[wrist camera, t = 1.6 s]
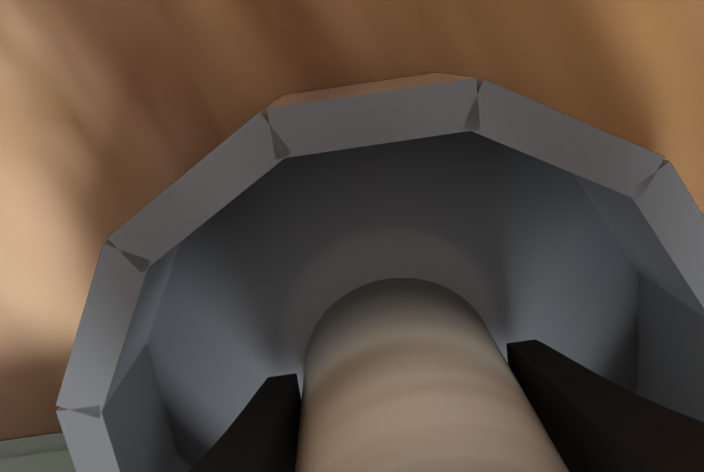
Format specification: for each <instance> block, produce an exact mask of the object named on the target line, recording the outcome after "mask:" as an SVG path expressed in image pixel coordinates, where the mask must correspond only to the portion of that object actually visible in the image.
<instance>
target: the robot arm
mask: <svg viewBox="0 0 704 472" xmlns="http://www.w3.org/2000/svg"><path fill="white" fill-rule="evenodd" d="M506 345H507V359H508V365H509V367H510V369H511V371H512V372H513V374H514V376H515V378H516V379H517V381H518V383H519V384H520V386H521V388H522V390H523V391H524V393H525V395H526V397H527V398H528V400H529V402H530V404H531V405H532V407H533V409H534V411H535V412H536V414H537V416H538V418H539V419H540V421H541V423H542V425H543V426H544V428H545V430H546V432H547V433H548V435H549V437H550V439H551V440H552V442H553V444H554V446H555V447H556V449H557V451H558V453H559V454H560V456H561V458H562V460H563V461H564V463H565V465H566V467H567V468H568V470H569V472H704V422H702V421H699V420H697V419H694V418H692V417H689V416H687V415H684V414H681V413H679V412H676V411H674V410H671V409H669V408H666V407H664V406H662V405H659V404H657V403H655V402H652V401H650V400H648V399H646V398H644V397H642V396H640V395H638V394H636V393H633V392H631V391H629V390H627V389H625V388H623V387H621V386H619V385H617V384H615V383H613V382H611V381H610V380H608V379H606V378H604V377H602V376H600V375H598V374H597V373H595V372H593V371H591V370H589V369H587V368H586V367H584V366H582V365H580V364H579V363H577V362H575V361H573V360H572V359H570V358H568V357H567V356H565V355H563V354H561V353H560V352H558V351H556V350H554V349H553V348H551V347H549V346H547V345H546V344H544V343H542V342H540V341H538V340H536V339H534V340H527V341H520V342H513V343H506ZM300 410H301V395H300V389H299V384H298V379H297V374H296V373H294V374H287V375H280V376H273V377H268V378H267V379H266V380H265V382H264V383H263V384H262V385H261V387H260V388H259V389H258V391H257V392H256V393H255V394H254V396H253V397H252V398H251V400H250V401H249V402H248V404H247V405H246V406H245V408H244V409H243V410H242V412H241V413H240V414H239V415H238V417H237V418H236V419H235V420H234V422H233V423H232V424H231V425H230V427H229V428H228V429H227V430H226V432H225V433H224V434H223V435H222V436H221V437H220V438H219V440H218V441H217V442H216V443H215V444H214V445H213V446H212V447H211V448H210V450H209V451H208V452H207V453H206V454H205V455H204V456H203V457H202V458H201V460H200V461H199V462H198V463H197V464H196V465H195V466H194V467H193V468H192V469H191V470H190V471H189V472H295V465H296V454H297V443H298V432H299V421H300Z"/></svg>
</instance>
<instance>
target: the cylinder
mask: <svg viewBox="0 0 704 472" xmlns="http://www.w3.org/2000/svg"><path fill="white" fill-rule="evenodd" d="M295 472H569V470H568V468H567V467H566V465H565V463H564V461H563V460H562V458H561V456H560V454H559V453H558V451H557V449H556V447H555V446H554V444H553V442H552V440H551V439H550V437H549V435H548V433H547V432H546V430H545V428H544V426H543V425H542V423H541V421H540V419H539V418H538V416H537V414H536V412H535V411H534V409H533V407H532V405H531V404H530V402H529V400H528V398H527V397H526V395H525V393H524V391H523V390H522V388H521V386H520V384H519V383H518V381H517V379H516V378H515V376H514V374H513V372H512V371H511V369H510V367H509V365H508V364H507V362H506V360H505V358H504V357H503V355H502V353H501V351H500V350H499V348H498V346H497V344H496V343H495V341H494V339H493V337H492V336H491V334H490V332H489V330H488V329H487V327H486V325H485V323H484V322H483V320H482V319H481V317H480V316H479V314H478V313H477V311H476V310H475V309H474V308H473V307H472V306H471V305H470V304H469V303H468V302H467V301H466V300H465V299H464V298H462V297H461V296H460V295H458V294H457V293H455V292H454V291H452V290H450V289H448V288H446V287H444V286H442V285H439V284H437V283H433V282H430V281H427V280H421V279H415V278H391V279H384V280H380V281H375V282H372V283H369V284H366V285H363V286H361V287H359V288H357V289H355V290H353V291H351V292H349V293H348V294H346V295H345V296H343V297H341V298H340V299H339V300H338V301H337V302H335V303H334V304H333V305H332V306H331V307H330V308H329V309H328V310H327V311H326V312H325V313H324V314H323V316H322V317H321V319H320V320H319V322H318V323H317V324H316V326H315V328H314V330H313V332H312V334H311V337H310V340H309V343H308V345H307V350H306V356H305V366H304V377H303V388H302V399H301V410H300V421H299V432H298V443H297V454H296V465H295Z"/></svg>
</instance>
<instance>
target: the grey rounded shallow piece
mask: <svg viewBox="0 0 704 472" xmlns="http://www.w3.org/2000/svg"><path fill="white" fill-rule="evenodd" d="M664 158H665V157H664V156H661V155H659V154H657V153H654V152H652V151H650V150H648V149H645V148H643V147H641V146H638V145H636V144H634V143H631V142H629V141H627V140H624V139H622V138H620V137H617V136H615V135H613V134H610V133H608V132H606V131H604V130H601V129H599V128H597V127H594V126H592V125H590V124H587V123H585V122H583V121H580V120H578V119H576V118H573V117H571V116H569V115H566V114H564V113H562V112H560V111H557V110H555V109H553V108H550V107H548V106H546V105H543V104H541V103H539V102H536V101H534V100H532V99H529V98H527V97H525V96H522V95H520V94H518V93H516V92H513V91H511V90H509V89H506V88H504V87H502V86H499V85H497V84H495V83H492V82H490V81H488V80H485V79H481V78H474V77H467V76H460V75H452V74H445V73H438V72H437V73H430V74H423V75H416V76H410V77H403V78H396V79H389V80H382V81H376V82H369V83H362V84H355V85H348V86H342V87H335V88H328V89H321V90H314V91H308V92H301V93H294V94H287V95H284V96H282V97H281V98H277V99H276V100H275V101H273V102H272V103H271V104H269V105H268V106H267V107H265V108H264V109H263V110H261V111H260V112H259V113H257V114H256V115H255V116H254V117H253V118H251V119H250V120H249V121H248V122H247V123H245V124H244V125H243V126H242V127H240V128H239V129H238V130H237V131H236V132H234V133H233V134H232V135H231V136H230V137H228V138H227V139H226V140H225V141H224V142H222V143H221V144H220V145H219V146H217V147H216V148H215V149H214V150H213V151H211V152H210V153H209V154H208V155H207V156H205V157H204V158H203V159H202V160H201V161H199V162H198V163H197V164H196V165H195V166H193V167H192V168H191V169H190V170H188V171H187V172H186V173H185V174H184V175H182V176H181V177H180V178H179V179H178V180H176V181H175V182H174V183H173V184H172V185H170V186H169V187H168V188H167V189H165V190H164V191H163V192H162V193H161V194H159V195H158V196H157V197H156V198H155V199H153V200H152V201H151V202H150V203H149V204H147V205H146V206H145V207H144V208H142V209H141V210H140V211H139V212H138V213H136V214H135V215H134V216H133V217H132V218H130V219H129V220H128V221H127V222H126V223H124V224H123V225H122V226H121V227H120V228H118V229H117V230H116V231H115V232H113V233H112V234H111V235H110V236H109V237H107V238H108V240H107V241H106V242H105V243H103V246H102V249H101V253H100V256H99V260H98V263H97V266H96V270H95V273H94V277H93V280H92V283H91V287H90V290H89V293H88V297H87V300H86V304H85V307H84V310H83V314H82V317H81V321H80V324H79V327H78V331H77V334H76V338H75V341H74V344H73V348H72V351H71V355H70V358H69V361H68V365H67V368H66V372H65V375H64V378H63V382H62V385H61V389H60V392H59V395H58V399H57V402H56V406H59V408H58V409H57V410H56V414H57V417H58V420H59V422H60V425H61V428H62V431H63V434H64V437H65V440H66V443H67V446H68V449H69V452H70V455H71V458H72V461H73V463H74V466H75V469H76V472H189V471H190V470H191V469H192V468H193V467H194V466H195V465H196V464H197V463H198V462H199V461H200V460H201V458H202V457H203V456H204V455H205V454H206V453H207V452H208V451H209V450H210V448H211V447H212V446H213V445H214V444H215V443H216V442H217V441H218V440H219V438H220V437H221V436H222V435H223V434H224V433H225V432H226V430H227V429H228V428H229V427H230V425H231V424H232V423H233V422H234V420H235V419H236V418H237V417H238V415H239V414H240V413H241V412H242V410H243V409H244V408H245V406H246V405H247V404H248V402H249V401H250V400H251V398H252V397H253V396H254V394H255V393H256V392H257V391H258V389H259V388H260V387H261V385H262V384H263V383H264V382H265V380H266V379H267V378H268V377H273V376H280V375H287V374H294V373H296V374H297V379H298V384H299V389H300V395H301V399H302V388H303V377H304V366H305V356H306V350H307V345H308V343H309V340H310V337H311V334H312V332H313V330H314V328H315V326H316V324H317V323H318V322H319V320H320V319H321V317H322V316H323V314H324V313H325V312H326V311H327V310H328V309H329V308H330V307H331V306H332V305H333V304H334V303H335V302H337V301H338V300H339V299H340V298H341V297H343V296H345V295H346V294H348V293H349V292H351V291H353V290H355V289H357V288H359V287H361V286H363V285H366V284H369V283H372V282H375V281H380V280H384V279H391V278H415V279H421V280H427V281H430V282H433V283H437V284H439V285H442V286H444V287H446V288H448V289H450V290H452V291H454V292H455V293H457V294H458V295H460V296H461V297H462V298H464V299H465V300H466V301H467V302H468V303H469V304H470V305H471V306H472V307H473V308H474V309H475V310H476V311H477V313H478V314H479V316H480V317H481V319H482V320H483V322H484V323H485V325H486V327H487V329H488V330H489V332H490V334H491V336H492V337H493V339H494V341H495V343H496V344H497V346H498V348H499V350H500V351H501V353H502V355H503V357H504V358H505V360H506V362H507V364H508V359H507V345H506V343H513V342H520V341H527V340H534V339H536V340H538V341H540V342H542V343H544V344H546V345H547V346H549V347H551V348H553V349H554V350H556V351H558V352H560V353H561V354H563V355H565V356H567V357H568V358H570V359H572V360H573V361H575V362H577V363H579V364H580V365H582V366H584V367H586V368H587V369H589V370H591V371H593V372H595V373H597V374H598V375H600V376H602V377H604V378H606V379H608V380H610V381H611V382H613V383H615V384H617V385H619V386H621V387H623V388H625V389H627V390H629V391H631V392H633V393H636V394H638V395H640V396H642V397H644V398H646V399H648V400H650V401H652V402H655V403H657V404H659V405H662V406H664V407H666V408H669V409H671V410H674V411H676V412H679V413H681V414H684V415H687V416H689V417H692V418H694V419H697V420H699V421H702V422H704V216H703V215H702V213H701V211H700V210H699V208H698V206H697V205H696V203H695V201H694V200H693V198H692V197H691V195H690V193H689V192H688V190H687V188H686V187H685V185H684V183H683V182H682V180H681V179H680V177H679V175H678V174H677V172H676V170H675V169H674V167H673V165H672V164H671V162H670V161H667V160H664Z"/></svg>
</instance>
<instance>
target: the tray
mask: <svg viewBox="0 0 704 472" xmlns="http://www.w3.org/2000/svg"><path fill="white" fill-rule="evenodd" d="M0 472H76V469H75V466H74V463H73V461H72V458H71V455H70V452H69V449H68V446H67V443H66V440H65V437H64V434H63V432H61V433H54V434H47V435H39V436H32V437H25V438H18V439H11V440H4V441H0Z"/></svg>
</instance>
